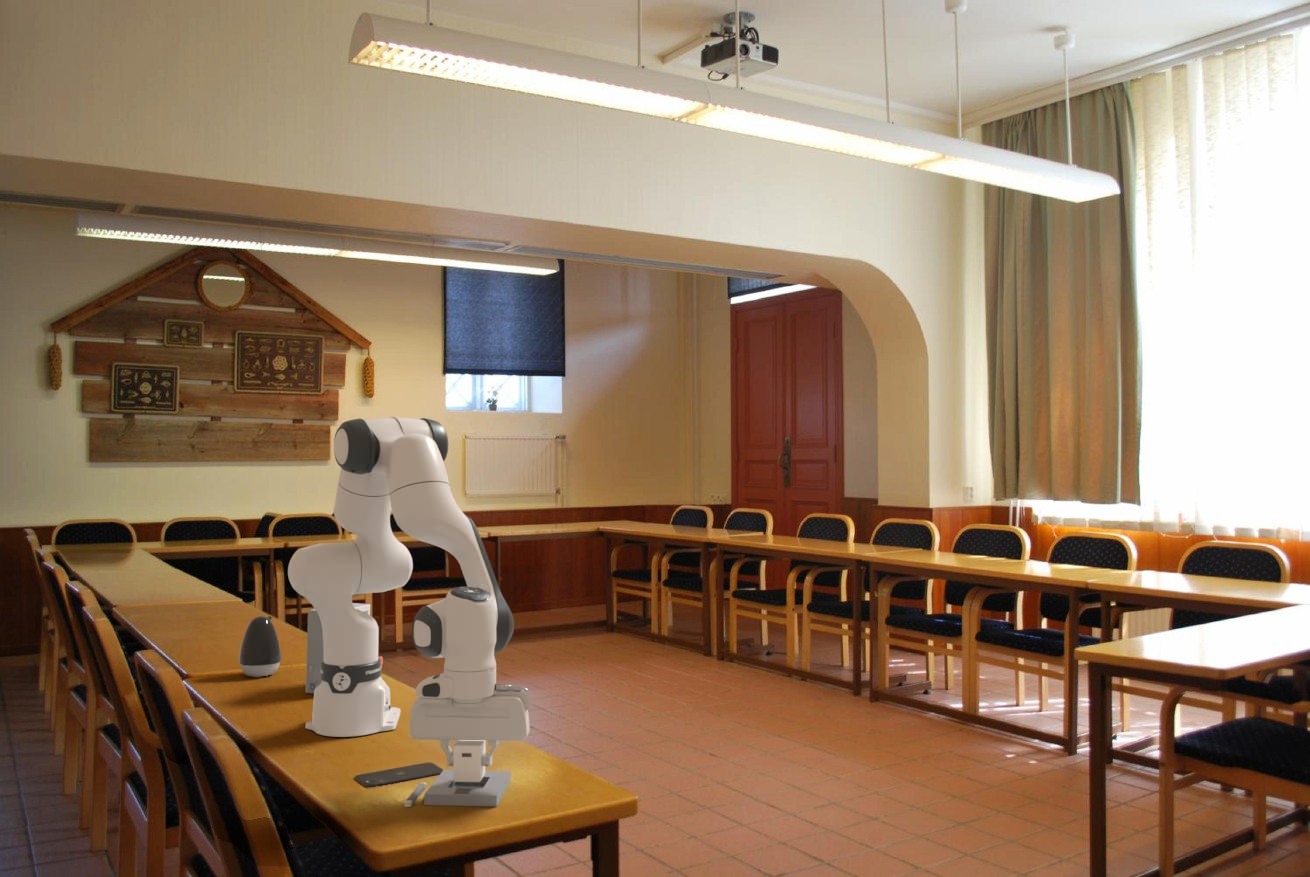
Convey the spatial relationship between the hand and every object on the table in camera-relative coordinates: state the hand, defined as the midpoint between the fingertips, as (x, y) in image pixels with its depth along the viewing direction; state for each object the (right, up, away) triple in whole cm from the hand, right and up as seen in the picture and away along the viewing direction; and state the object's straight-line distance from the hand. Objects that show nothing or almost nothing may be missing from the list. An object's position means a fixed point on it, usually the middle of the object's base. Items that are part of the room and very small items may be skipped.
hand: (469, 765), depth 178 cm
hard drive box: (-46, -5, +77) cm, 89 cm away
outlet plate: (0, -5, 0) cm, 5 cm away
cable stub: (-9, -5, -2) cm, 10 cm away
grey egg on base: (-70, -5, +91) cm, 114 cm away
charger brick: (0, -2, 0) cm, 2 cm away
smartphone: (-14, -5, +9) cm, 18 cm away
